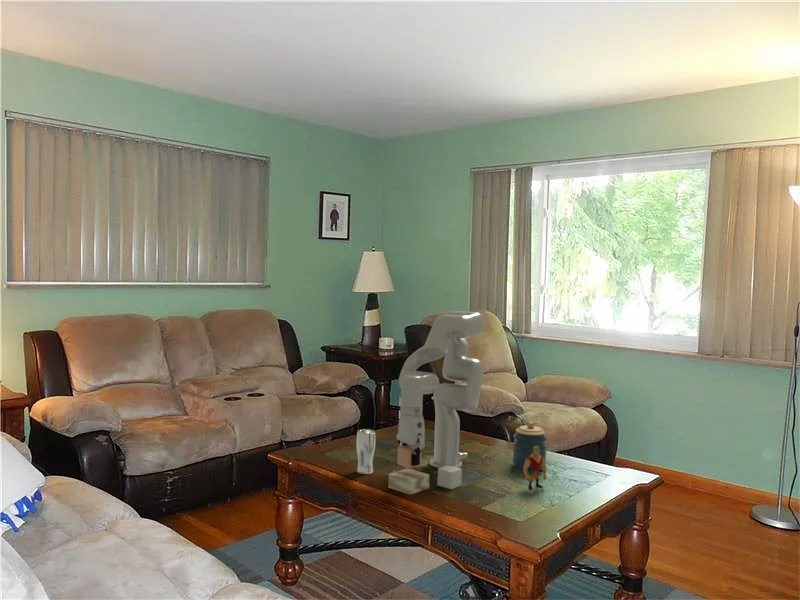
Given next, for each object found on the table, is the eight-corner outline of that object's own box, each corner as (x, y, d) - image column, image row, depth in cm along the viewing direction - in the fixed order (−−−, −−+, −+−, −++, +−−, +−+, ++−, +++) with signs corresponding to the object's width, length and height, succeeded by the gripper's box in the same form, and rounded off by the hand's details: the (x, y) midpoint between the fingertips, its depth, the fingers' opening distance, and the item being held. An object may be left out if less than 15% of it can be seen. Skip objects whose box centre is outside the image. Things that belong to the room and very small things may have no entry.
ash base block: (407, 481, 227) (407, 467, 227) (429, 488, 220) (429, 474, 220) (388, 488, 220) (388, 473, 219) (410, 495, 213) (410, 481, 213)
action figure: (526, 490, 221) (528, 447, 220) (520, 487, 224) (522, 445, 224) (549, 487, 225) (551, 445, 224) (542, 484, 228) (544, 443, 228)
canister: (526, 473, 240) (528, 427, 239) (505, 464, 251) (507, 419, 250) (553, 469, 246) (555, 424, 245) (531, 460, 257) (532, 417, 257)
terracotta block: (411, 461, 224) (411, 444, 223) (421, 465, 219) (422, 448, 219) (397, 463, 220) (397, 446, 220) (407, 468, 215) (407, 450, 215)
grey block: (447, 481, 228) (447, 464, 228) (461, 485, 224) (461, 468, 224) (437, 485, 224) (438, 468, 223) (451, 489, 220) (452, 472, 220)
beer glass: (371, 475, 232) (373, 434, 231) (353, 473, 233) (354, 433, 232) (376, 469, 238) (377, 430, 238) (358, 468, 240) (359, 428, 239)
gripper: (435, 414, 214) (433, 467, 215) (405, 405, 228) (403, 454, 229) (417, 417, 210) (415, 471, 210) (388, 407, 224) (386, 457, 224)
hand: (409, 462), depth 220 cm, fingers closed on terracotta block, 6 cm apart
